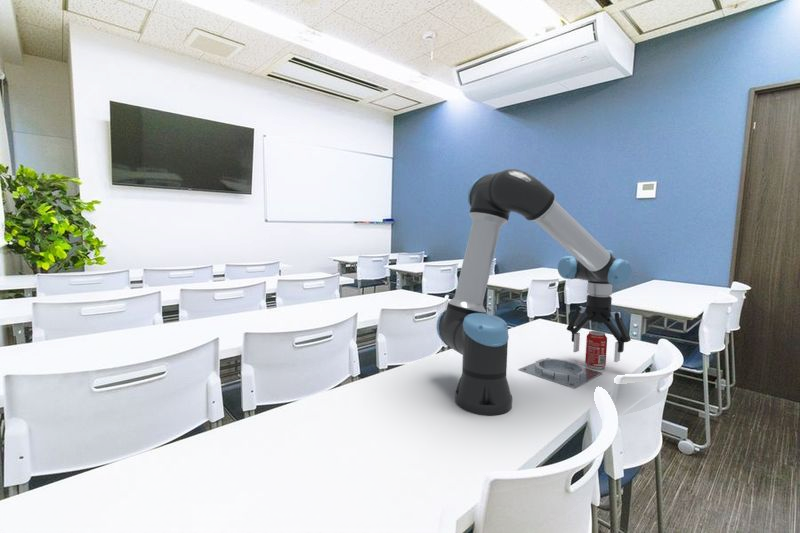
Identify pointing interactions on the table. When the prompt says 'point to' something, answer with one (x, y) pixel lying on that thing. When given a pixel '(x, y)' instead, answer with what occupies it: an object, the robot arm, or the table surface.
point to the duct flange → (561, 372)
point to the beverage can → (596, 350)
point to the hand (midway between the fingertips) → (595, 356)
